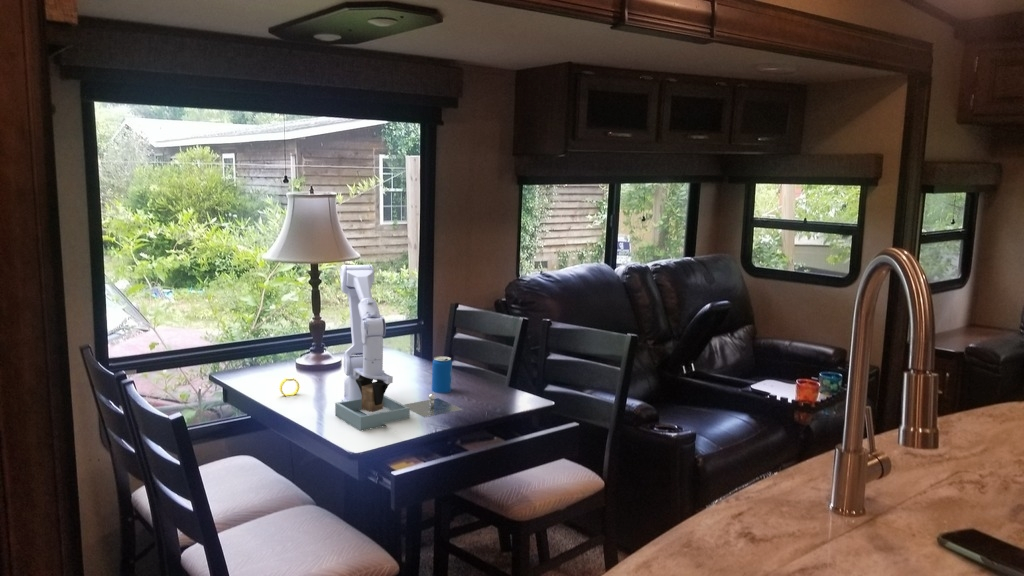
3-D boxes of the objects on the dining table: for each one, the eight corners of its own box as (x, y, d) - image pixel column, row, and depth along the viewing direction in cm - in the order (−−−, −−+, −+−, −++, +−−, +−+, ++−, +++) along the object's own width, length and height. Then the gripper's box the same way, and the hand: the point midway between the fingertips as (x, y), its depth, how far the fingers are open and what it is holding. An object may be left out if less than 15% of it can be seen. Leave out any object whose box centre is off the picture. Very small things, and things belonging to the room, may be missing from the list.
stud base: (400, 408, 230) (400, 391, 229) (438, 401, 238) (438, 385, 238) (424, 420, 219) (425, 403, 218) (463, 412, 228) (463, 396, 227)
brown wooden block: (361, 409, 218) (361, 386, 217) (372, 405, 222) (372, 383, 221) (372, 412, 215) (372, 389, 214) (382, 408, 219) (383, 386, 218)
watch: (296, 393, 242) (298, 376, 241) (299, 396, 239) (300, 378, 239) (278, 394, 238) (279, 376, 238) (280, 397, 236) (282, 379, 235)
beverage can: (447, 396, 244) (448, 361, 242) (429, 394, 245) (430, 359, 243) (453, 391, 250) (454, 357, 248) (435, 389, 251) (436, 355, 250)
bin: (335, 415, 220) (335, 402, 220) (382, 407, 230) (382, 394, 230) (360, 430, 208) (360, 417, 207) (409, 421, 218) (409, 408, 217)
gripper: (400, 359, 215) (399, 404, 217) (365, 351, 224) (365, 395, 226) (382, 364, 210) (382, 410, 212) (348, 355, 218) (347, 400, 220)
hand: (372, 402), depth 218 cm, fingers closed on brown wooden block, 4 cm apart
